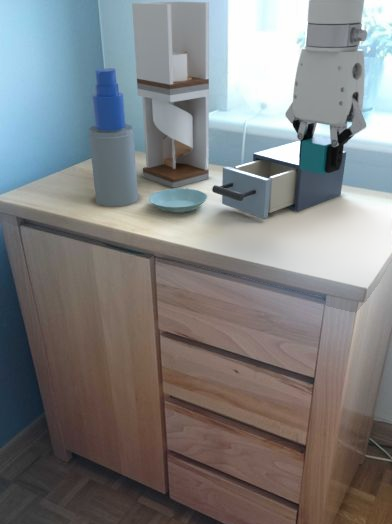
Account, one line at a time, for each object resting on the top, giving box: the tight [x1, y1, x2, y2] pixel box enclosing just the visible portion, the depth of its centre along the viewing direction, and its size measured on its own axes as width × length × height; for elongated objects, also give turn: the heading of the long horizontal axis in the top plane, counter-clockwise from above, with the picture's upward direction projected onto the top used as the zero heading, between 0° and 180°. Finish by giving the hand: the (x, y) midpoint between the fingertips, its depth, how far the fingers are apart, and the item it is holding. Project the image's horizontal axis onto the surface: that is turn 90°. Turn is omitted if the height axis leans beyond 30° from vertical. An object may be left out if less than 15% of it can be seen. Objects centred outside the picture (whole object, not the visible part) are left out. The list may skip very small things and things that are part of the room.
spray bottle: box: [88, 67, 139, 208], centre depth 112 cm, size 9×9×25 cm
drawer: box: [211, 159, 298, 219], centre depth 110 cm, size 18×11×7 cm, turn 132°
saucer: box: [148, 188, 208, 214], centre depth 114 cm, size 12×12×2 cm
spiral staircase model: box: [131, 0, 210, 189], centre depth 122 cm, size 11×11×35 cm
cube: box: [300, 135, 331, 175], centre depth 88 cm, size 4×4×4 cm
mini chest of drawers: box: [252, 140, 347, 213], centre depth 117 cm, size 15×13×9 cm
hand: (319, 166), depth 89 cm, fingers closed on cube, 4 cm apart
